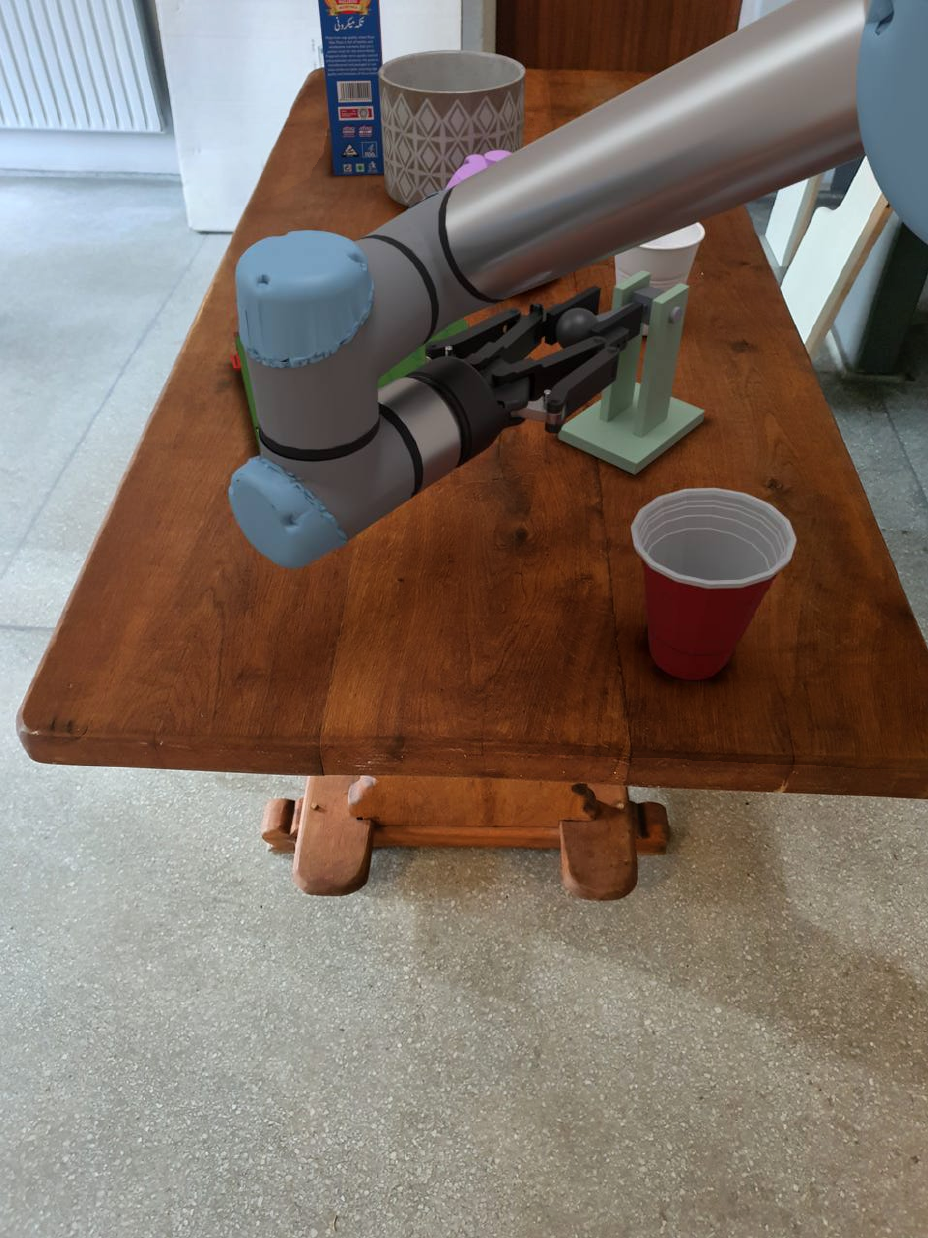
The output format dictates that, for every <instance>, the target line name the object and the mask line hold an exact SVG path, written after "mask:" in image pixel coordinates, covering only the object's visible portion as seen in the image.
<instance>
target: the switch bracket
mask: <svg viewBox="0 0 928 1238" xmlns="http://www.w3.org/2000/svg"><path fill="white" fill-rule="evenodd" d="M650 277H651V273H649V272H647V271H644V270H641V271H640V272H638V273H636V274H634V275H633V276H631V277H629V278H628V279H626V280H624V281H623V282H621V283H619V284H617V285H616V284H615V285H614V286H613V292H612V293H613V294H612V302H611V310H614V309H616V308H619V307H622V306H625V305H628V304H631V301H632V296H633V292H634V291H636V290H639V289H642V288H645V287H648V286H649V284H650ZM689 293H690V285H688V284H682V283H679V284H678V285H676V286H675V287H673V288H671V289H670V290H668V291H667V292H665V293H663V294H662V295H660V296H659V297H657V298H655V299H654V300H653V301H652V308H651V315H650V322H649V329H648V336H646V343H645V351H644V356H643V364H642V370H641V378H640V382H637V376H638V369H639V361H640V354H641V349H642V340H643V335H642V334H643V327H644V324H643V323H641V328H640V334H639V335H638V336H636V337H634V338H633V339H631V340H630V341H628V343H627V347H626V349H624V350H623V351H621V352H620V354H619V362H618V369H617V377H616V380H615V381H614V382H613V383H612V384H610V385H609V386H608V387H606V388H605V389H604V390H603V391H601V399H599V400H598V401H596V402H595V403H593V404H592V405H590V406H589V407H587V408H586V409H585V410H582V411H581V412H580V413H579V414H577V415H576V416H574V417H573V418H571V419H570V420H569V421H567V422H565V423H564V424H563V427H562V429H561V431H560V432H559V433H558V437H557V438H558V440H559V441H561V442H563V443H566V444H567V445H570V446H572V447H575V448H577V449H579V450H581V451H583V452H584V453H585V452H586V453H587V454H590V455H592V456H593V457H596V458H598V459H600V460H602V461H604V462H607V463H608V464H610V465H613V466H616V467H617V468H619V469H621V470H624V471H626V472H628V473H630V474H632V475H634V476H635V475H637V474H638V473H639V472H641V471H642V470H643V469H645V468H646V466H648V465H649V464H651V463H652V462H653V461H654V460H656V459H657V458H659V457H660V456H661V455H662V454H664V453H665V452H666V451H668V449H670V448H671V447H672V446H674V445H675V444H676V443H677V442H679V441H681V439H683V438H684V437H685V436H686V435H688V434H689V433H690V432H691V431H693V430H694V429H695V428H696V427H699V425H700V424H702V423H703V422H704V418H705V412H706V410H705V409H702V408H700V407H698V406H695V405H693V404H690V403H688V402H686V401H683V400H681V399H678V398H676V397H673V396H672V393H673V392H672V390H673V385H674V380H675V374H676V369H677V362H678V356H679V351H680V345H681V341H682V340H681V339H682V334H683V327H684V322H685V315H686V310H687V304H688V299H689Z"/></svg>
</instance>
